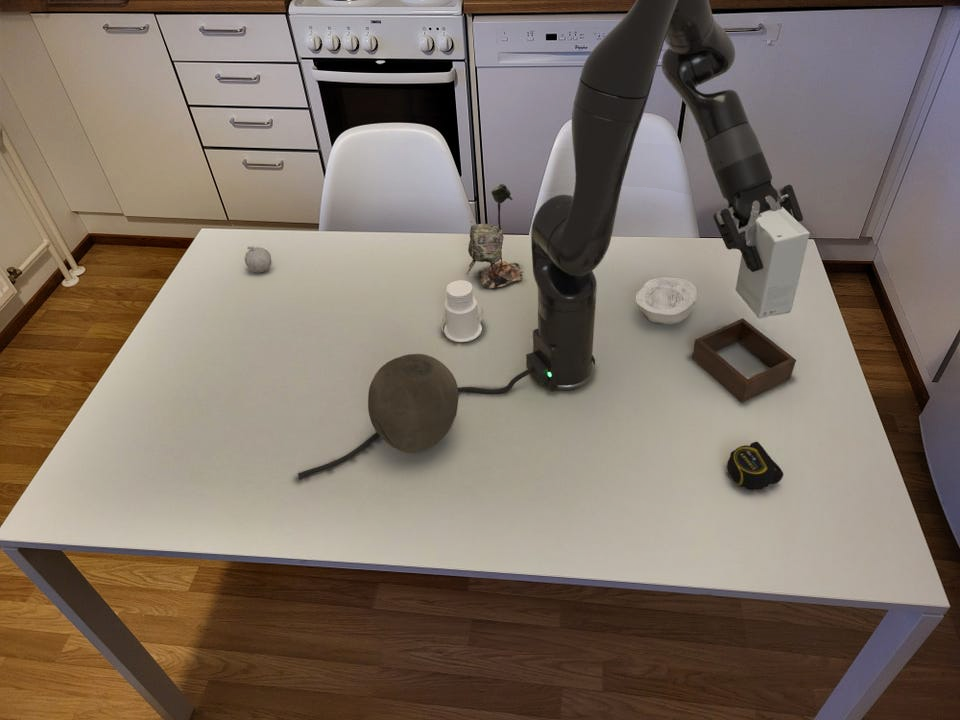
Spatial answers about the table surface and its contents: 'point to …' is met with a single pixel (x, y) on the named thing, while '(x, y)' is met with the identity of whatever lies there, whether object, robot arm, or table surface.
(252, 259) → the garlic
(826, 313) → the table surface
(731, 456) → the tape measure
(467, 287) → the downlight
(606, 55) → the robot arm
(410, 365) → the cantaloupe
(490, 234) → the plant with pod
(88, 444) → the table surface
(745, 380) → the crate
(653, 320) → the cell model
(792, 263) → the cosmetic box
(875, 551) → the table surface
